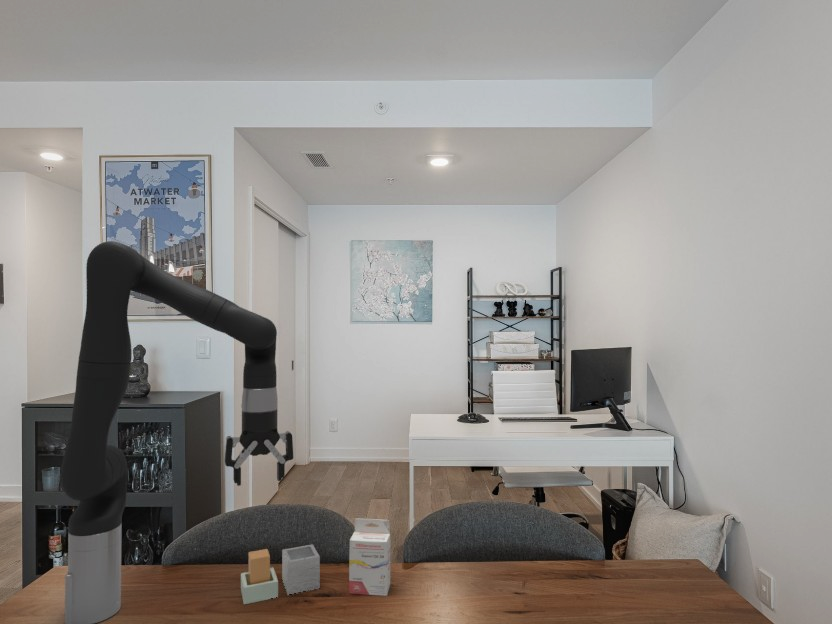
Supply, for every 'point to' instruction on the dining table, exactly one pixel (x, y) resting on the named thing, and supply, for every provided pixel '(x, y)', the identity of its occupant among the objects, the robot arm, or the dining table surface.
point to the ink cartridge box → (370, 558)
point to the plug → (258, 567)
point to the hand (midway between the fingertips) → (259, 482)
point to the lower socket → (259, 589)
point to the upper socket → (300, 569)
